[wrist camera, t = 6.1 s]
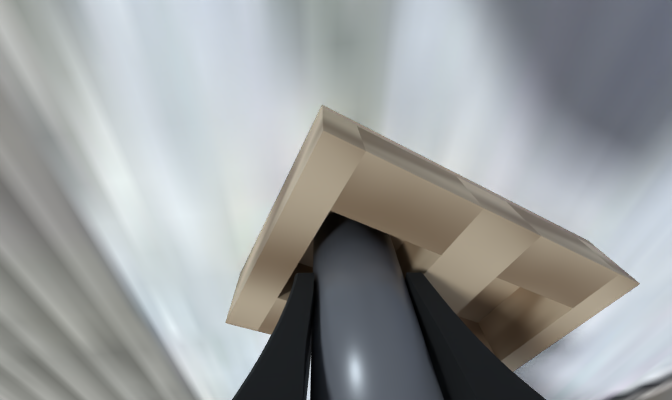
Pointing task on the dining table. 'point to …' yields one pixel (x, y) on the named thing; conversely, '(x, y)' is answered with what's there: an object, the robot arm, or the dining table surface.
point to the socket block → (429, 242)
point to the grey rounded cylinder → (364, 320)
